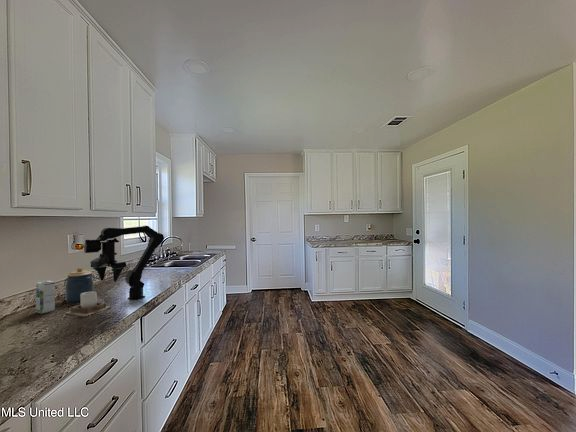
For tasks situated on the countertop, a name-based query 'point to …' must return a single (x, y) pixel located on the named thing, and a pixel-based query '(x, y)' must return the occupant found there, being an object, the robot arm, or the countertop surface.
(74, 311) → the holder
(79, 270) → the canister
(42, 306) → the syrup box
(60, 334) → the countertop surface
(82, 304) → the towel roll
